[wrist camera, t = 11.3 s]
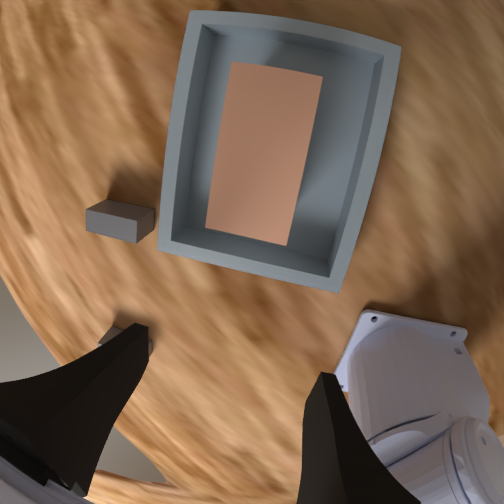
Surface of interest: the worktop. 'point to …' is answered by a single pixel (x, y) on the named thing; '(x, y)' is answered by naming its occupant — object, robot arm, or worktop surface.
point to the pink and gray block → (261, 150)
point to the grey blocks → (120, 231)
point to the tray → (319, 152)
